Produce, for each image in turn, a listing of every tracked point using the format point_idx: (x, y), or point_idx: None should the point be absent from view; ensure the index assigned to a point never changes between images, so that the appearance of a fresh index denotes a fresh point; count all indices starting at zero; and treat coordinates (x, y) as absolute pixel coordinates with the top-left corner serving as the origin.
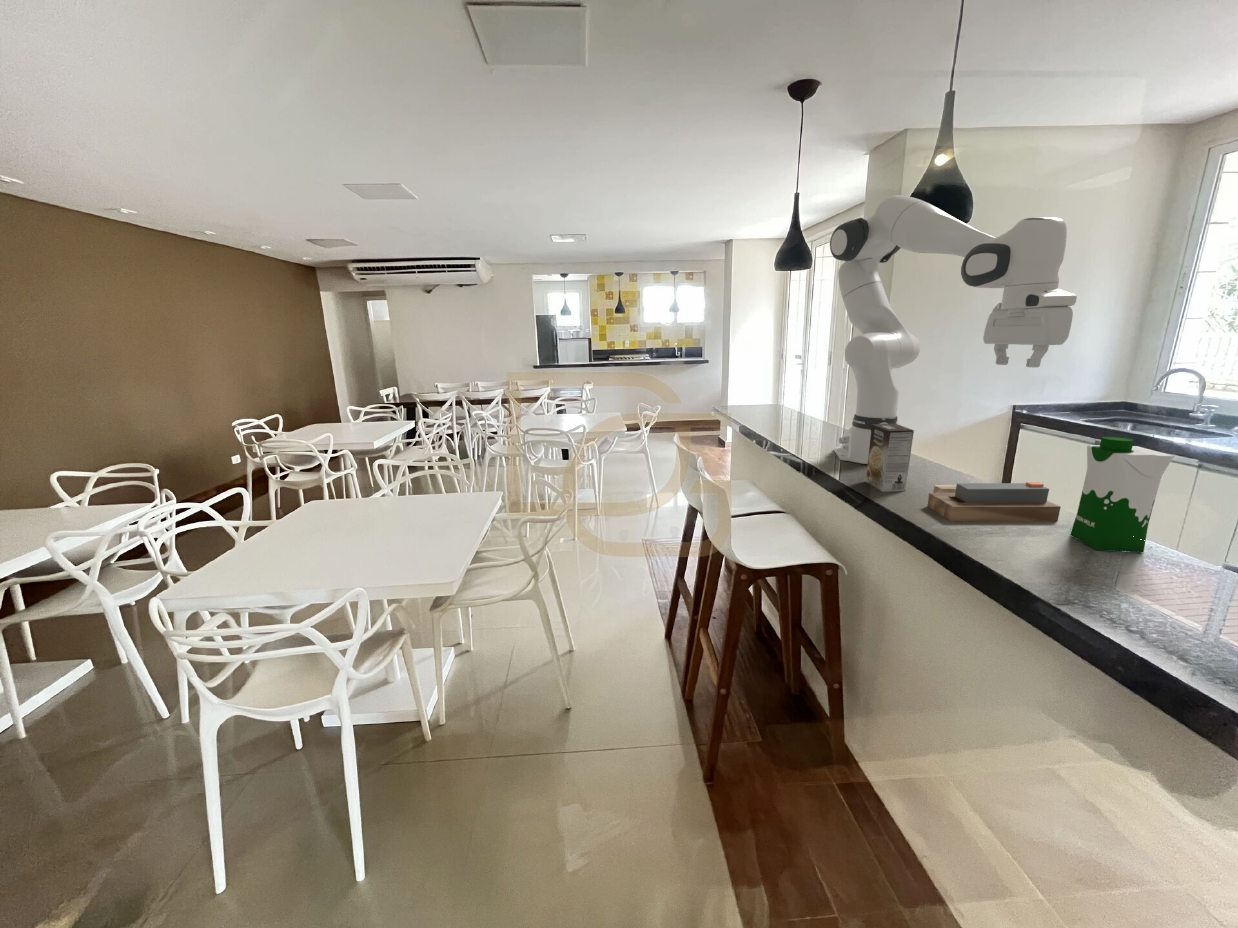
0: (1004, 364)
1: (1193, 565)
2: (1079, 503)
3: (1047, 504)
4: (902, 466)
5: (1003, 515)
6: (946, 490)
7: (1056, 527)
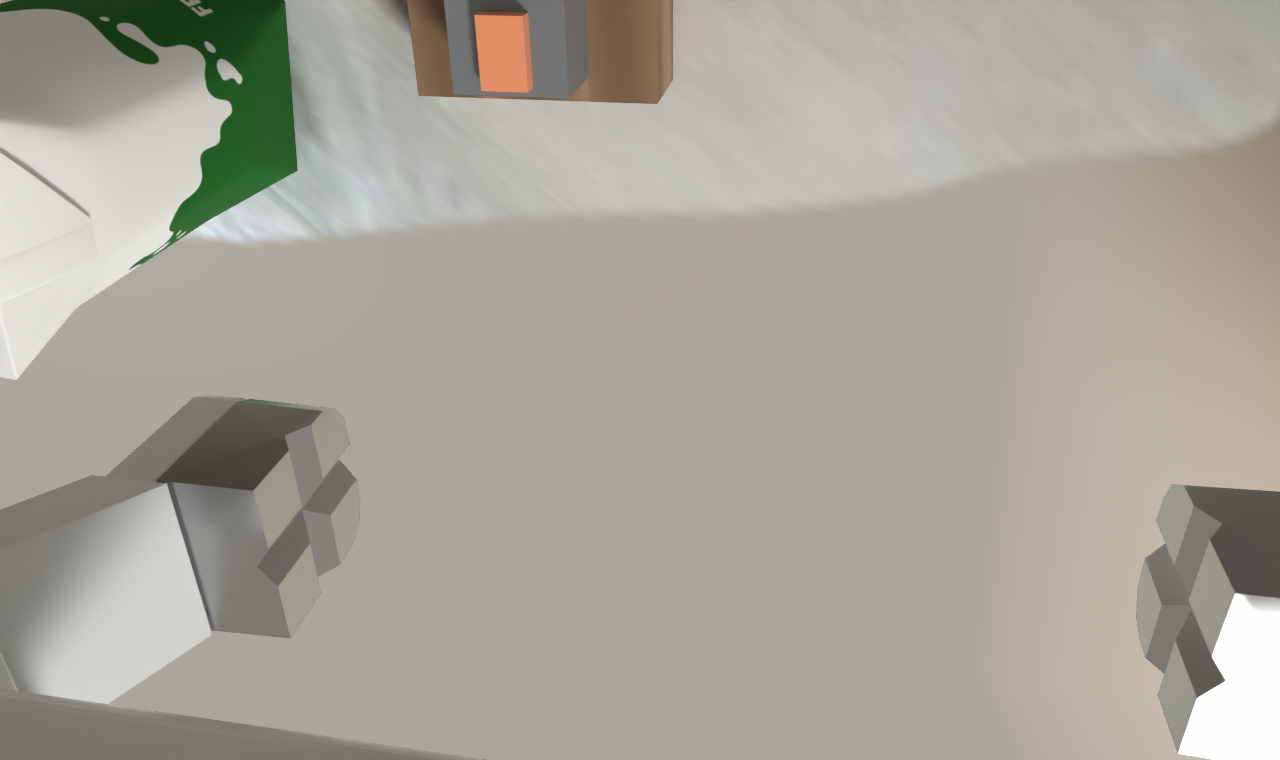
0: (1147, 557)
1: None
2: (144, 12)
3: (444, 51)
4: None
5: None
6: None
7: (381, 16)
